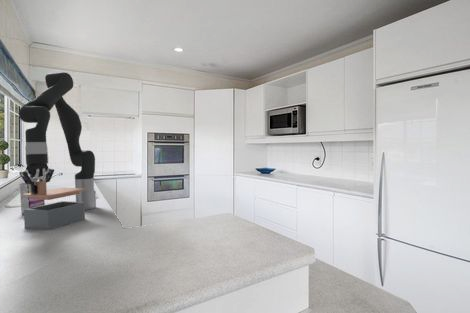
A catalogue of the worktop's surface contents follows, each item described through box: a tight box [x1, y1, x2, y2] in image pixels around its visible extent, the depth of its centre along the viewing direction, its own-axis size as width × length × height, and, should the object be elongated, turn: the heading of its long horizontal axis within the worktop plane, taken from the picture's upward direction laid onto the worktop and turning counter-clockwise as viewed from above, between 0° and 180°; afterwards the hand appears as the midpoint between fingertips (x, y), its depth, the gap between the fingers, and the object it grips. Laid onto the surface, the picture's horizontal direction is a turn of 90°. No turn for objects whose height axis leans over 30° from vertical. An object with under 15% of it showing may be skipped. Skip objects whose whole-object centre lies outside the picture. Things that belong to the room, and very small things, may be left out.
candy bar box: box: [19, 182, 46, 215], centre depth 145 cm, size 11×5×16 cm, turn 179°
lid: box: [22, 180, 86, 201], centre depth 119 cm, size 19×15×8 cm
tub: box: [23, 200, 86, 231], centre depth 120 cm, size 18×14×8 cm
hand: (38, 193), depth 112 cm, fingers closed on lid, 2 cm apart
